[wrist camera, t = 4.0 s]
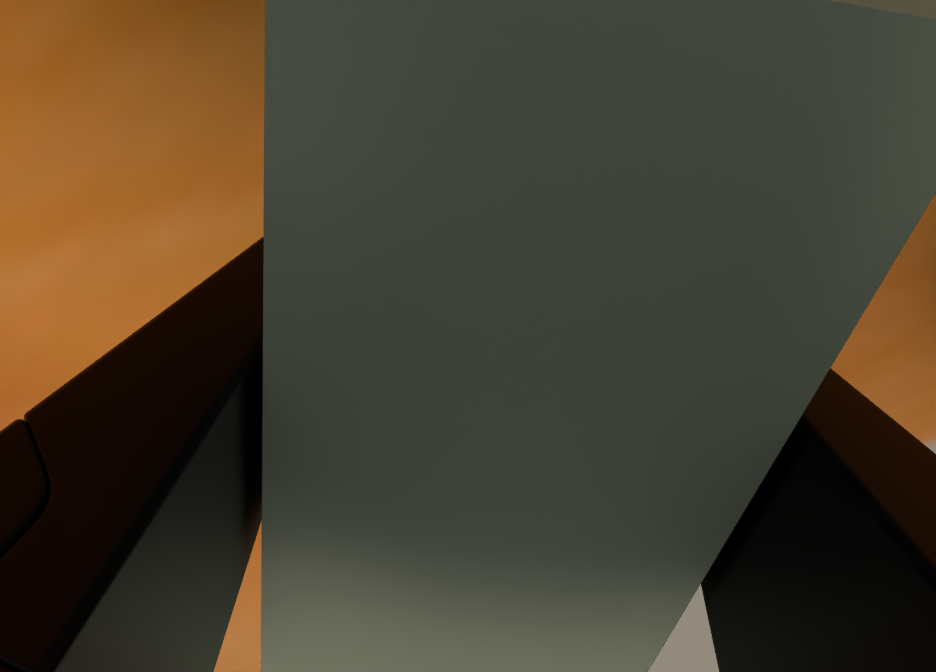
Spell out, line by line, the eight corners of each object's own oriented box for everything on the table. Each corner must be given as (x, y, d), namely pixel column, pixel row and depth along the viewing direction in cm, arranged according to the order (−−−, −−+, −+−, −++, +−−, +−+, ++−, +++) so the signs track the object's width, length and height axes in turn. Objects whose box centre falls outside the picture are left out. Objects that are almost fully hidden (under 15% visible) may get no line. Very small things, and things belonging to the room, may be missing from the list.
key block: (816, -116, 7) (1029, 36, 4) (581, 486, 12) (615, 725, 9) (345, -205, 7) (264, -100, 4) (306, 457, 12) (260, 700, 9)
